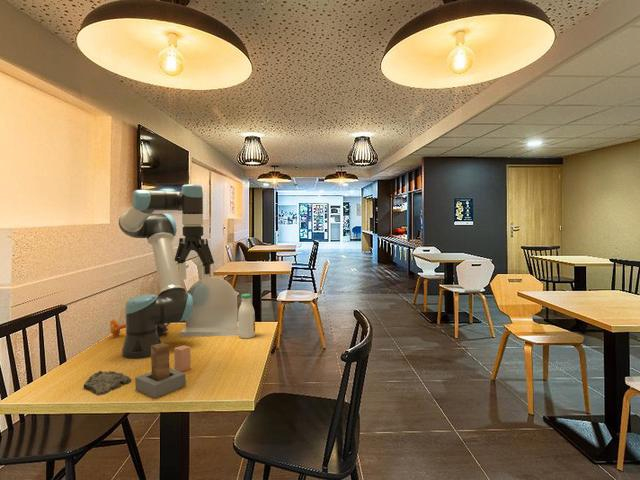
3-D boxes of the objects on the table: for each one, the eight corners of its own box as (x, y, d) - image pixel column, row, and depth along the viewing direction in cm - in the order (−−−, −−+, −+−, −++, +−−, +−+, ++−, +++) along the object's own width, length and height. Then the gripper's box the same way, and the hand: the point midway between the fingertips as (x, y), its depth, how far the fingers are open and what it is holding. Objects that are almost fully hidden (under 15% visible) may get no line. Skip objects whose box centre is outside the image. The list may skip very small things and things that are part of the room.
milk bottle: (251, 339, 178) (250, 296, 177) (235, 338, 179) (235, 295, 178) (257, 334, 185) (256, 293, 184) (242, 333, 187) (241, 292, 186)
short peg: (174, 369, 142) (174, 348, 141) (184, 366, 145) (183, 345, 145) (181, 371, 139) (180, 350, 139) (190, 368, 143) (190, 347, 142)
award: (242, 330, 193) (241, 275, 192) (240, 335, 184) (239, 277, 183) (185, 331, 191) (183, 276, 190) (180, 337, 182) (178, 278, 181)
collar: (135, 389, 125) (135, 377, 125) (166, 378, 134) (165, 366, 134) (155, 398, 118) (154, 385, 118) (185, 385, 127) (185, 373, 127)
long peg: (152, 388, 126) (150, 345, 125) (163, 384, 129) (162, 342, 128) (158, 391, 123) (157, 348, 123) (170, 387, 126) (168, 345, 126)
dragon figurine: (116, 317, 188) (168, 303, 190) (123, 340, 189) (174, 327, 191) (107, 322, 178) (161, 308, 180) (114, 347, 179) (168, 333, 181)
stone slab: (112, 373, 140) (112, 365, 140) (137, 384, 130) (136, 375, 130) (75, 385, 130) (74, 377, 130) (98, 398, 120) (97, 388, 120)
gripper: (223, 225, 143) (223, 282, 144) (180, 225, 157) (181, 277, 158) (206, 226, 136) (207, 285, 138) (164, 225, 150) (165, 279, 152)
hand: (193, 281), depth 148 cm, fingers open, 13 cm apart
